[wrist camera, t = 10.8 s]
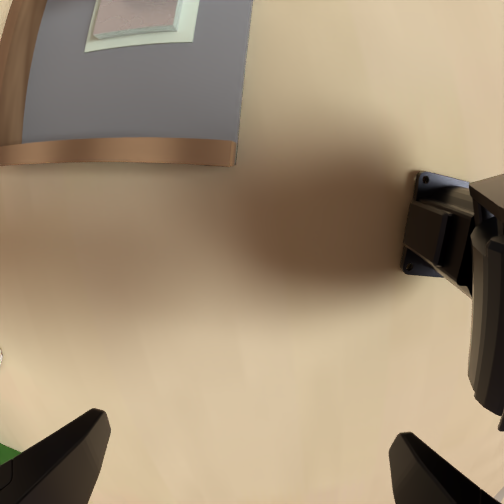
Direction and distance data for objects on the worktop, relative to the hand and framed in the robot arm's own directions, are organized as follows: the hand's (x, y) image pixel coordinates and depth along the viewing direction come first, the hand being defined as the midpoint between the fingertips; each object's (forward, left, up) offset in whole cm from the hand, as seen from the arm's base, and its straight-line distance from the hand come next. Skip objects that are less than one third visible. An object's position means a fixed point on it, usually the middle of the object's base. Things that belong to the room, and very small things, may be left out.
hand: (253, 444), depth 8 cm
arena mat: (+10, -16, -12) cm, 22 cm away
